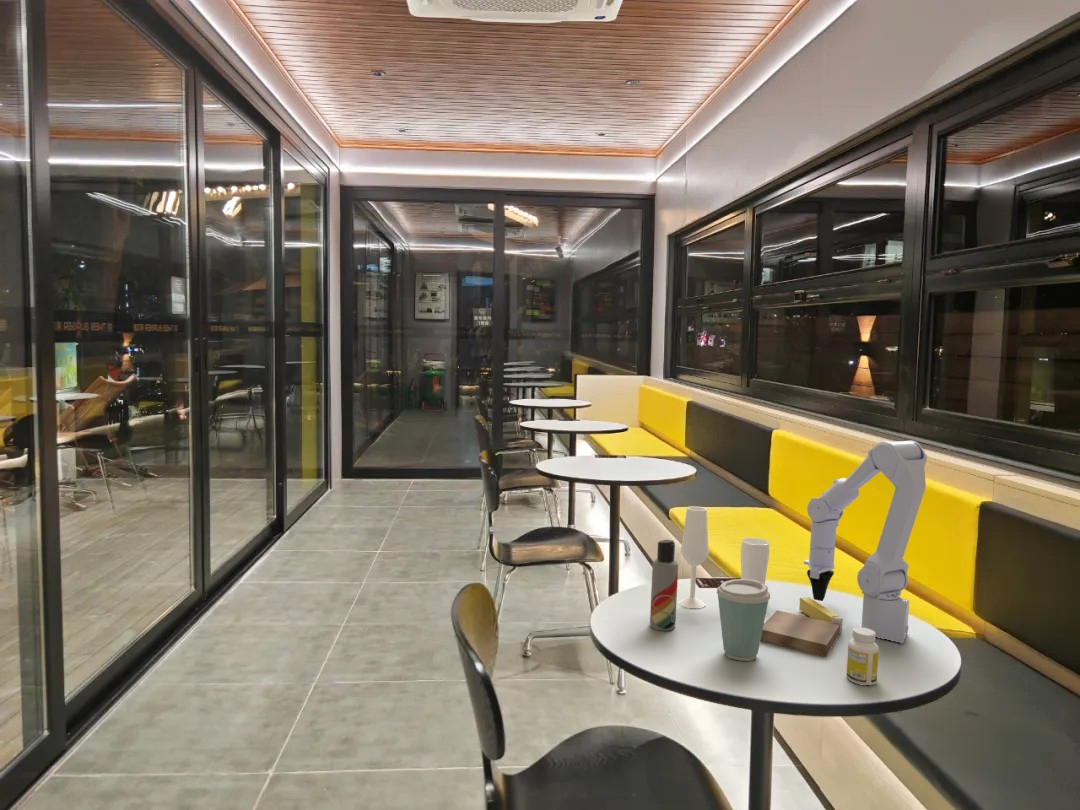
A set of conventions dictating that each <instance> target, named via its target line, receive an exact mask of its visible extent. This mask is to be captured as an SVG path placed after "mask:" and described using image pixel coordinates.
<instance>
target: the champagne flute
mask: <svg viewBox="0 0 1080 810" xmlns="http://www.w3.org/2000/svg"><path fill="white" fill-rule="evenodd" d="M682 532H683V533H682V540H681V547H680V555H681V556H682V558H683V559H684V560H685V561H686V562H687V564H689V565H690V566H691V569H690V570H691V571H690V591H689V596H687V597H685V598H682V599H681V600H679V601H678V603H677V604H678V605H679V606H681V607H682V606H683V607H682V608H685V607H687V608H686V609H690V608H701V607H704V606H705V605H706V603H705V604H704V601H702V600H700V599H699V598H697V597H696V584H697V583H696V581H697V580H696V579H697V567H698V566H700V565H701V564H702V563H704V562H705V560H706V559H707V558H708V556H709V552H710V551H709V550H710V549H709V529H708V509H707V508H706V507H704V506H696V505H695V506H693V505H691V506H687V507H686V513H685V519H684V527H683V531H682ZM705 607H706V606H705ZM705 607H704V608H705ZM701 609H702V608H701Z"/></svg>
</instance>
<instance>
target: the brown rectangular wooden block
mask: <svg viewBox="0 0 1080 810" xmlns="http://www.w3.org/2000/svg"><path fill="white" fill-rule="evenodd" d="M840 634H841V633H840V624H836V623H832V622H828V621H823V620H819V619H814V618H811V617H810V616H804V615H800V614H796V613H791V612H788V611H787V612H786V611H783V610H778V609H777V610H775V612H773V613H772V615H771V616H770V617H768V619H767V620H765V621H764V625H763V630H762V635H761V640H760V642H765V643H769V644H773V645H776V646H777V645H778V646H781V647H786V648H789V649H793V650H797V651H800V652H801V651H802V652H806V653H809V654H814V655H818V656H822V657H824V658H825V657H827V655H828V653H829V652H830V651H831V649H832V648H831V647H834V645H833V644H835V643H836V641H837V640H838V638H839V637H838V636H840ZM836 639H837V640H836Z"/></svg>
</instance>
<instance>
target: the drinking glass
mask: <svg viewBox="0 0 1080 810" xmlns="http://www.w3.org/2000/svg"><path fill="white" fill-rule="evenodd" d="M769 558H770V542H769V540H766V539H762V538H758V537H746V538H745V537H744V538H742V539H741V548H740V571H741V572H740V573H741V575H740V576H741V579H750V580H756V581H759V582H762V583H764V584H765V585H766V579H767V572H768V568H769V567H768V566H769V560H770V559H769Z"/></svg>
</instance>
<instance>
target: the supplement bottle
mask: <svg viewBox="0 0 1080 810" xmlns="http://www.w3.org/2000/svg"><path fill="white" fill-rule="evenodd" d="M875 635H876V634H875V632H874V631H873V630H871V629H868V628H861V627H854V628H853V631H852V638H850V640H848V643H847V644H848V645H847V657H846V658H847V659H846V660H847V661H846V678H847V680H849V681H850V682H851V681H852V683H853V682H854V683H853V684H856V683H857V685H859V684H862V685H861V686H866V685H869V686H874V685H875V684H876V683H877V680H878V664H879V649H880V648H879V645H878V644H877V643H876V642H875V641H876V638H875ZM873 684H874V685H873Z"/></svg>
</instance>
